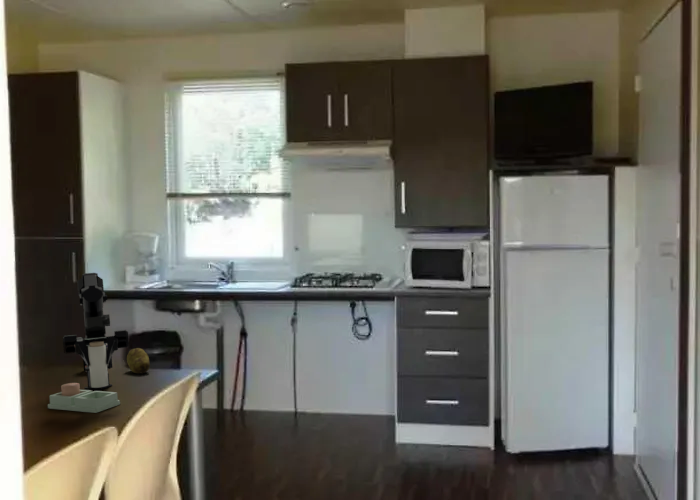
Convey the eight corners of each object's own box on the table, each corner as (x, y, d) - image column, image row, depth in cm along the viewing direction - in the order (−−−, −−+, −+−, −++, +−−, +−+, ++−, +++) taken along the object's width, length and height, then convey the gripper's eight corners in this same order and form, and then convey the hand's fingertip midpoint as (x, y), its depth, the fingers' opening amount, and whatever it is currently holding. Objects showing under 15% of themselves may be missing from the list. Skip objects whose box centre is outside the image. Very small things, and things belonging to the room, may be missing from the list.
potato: (125, 376, 284) (123, 353, 283) (128, 369, 296) (126, 347, 296) (149, 374, 285) (148, 351, 285) (151, 367, 298) (150, 345, 297)
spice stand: (48, 408, 243) (46, 387, 243) (73, 400, 252) (71, 380, 252) (95, 412, 235) (94, 391, 234) (120, 404, 243) (118, 383, 243)
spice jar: (88, 386, 242) (85, 342, 241) (104, 383, 245) (101, 340, 244) (94, 388, 238) (91, 344, 237) (111, 385, 241) (108, 341, 241)
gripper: (60, 309, 241) (63, 352, 231) (125, 303, 247) (130, 344, 237) (62, 332, 249) (65, 374, 239) (126, 325, 255) (130, 366, 245)
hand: (98, 364), depth 240 cm, fingers closed on spice jar, 5 cm apart
